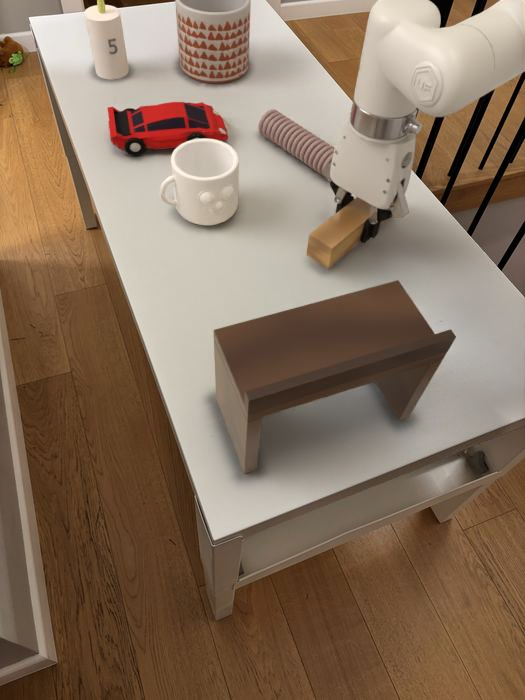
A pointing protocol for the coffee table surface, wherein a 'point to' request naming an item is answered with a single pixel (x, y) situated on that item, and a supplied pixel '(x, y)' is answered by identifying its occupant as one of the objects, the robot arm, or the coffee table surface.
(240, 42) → the planter
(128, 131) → the toy car
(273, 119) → the coil
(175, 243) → the coffee table surface
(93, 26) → the candle
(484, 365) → the coffee table surface
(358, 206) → the stick
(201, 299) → the coffee table surface
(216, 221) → the mug
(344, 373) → the shelf
